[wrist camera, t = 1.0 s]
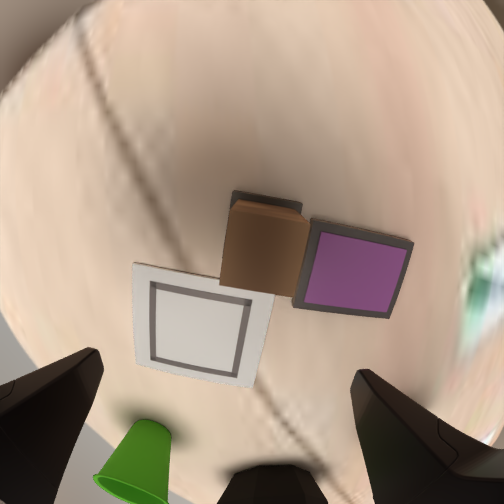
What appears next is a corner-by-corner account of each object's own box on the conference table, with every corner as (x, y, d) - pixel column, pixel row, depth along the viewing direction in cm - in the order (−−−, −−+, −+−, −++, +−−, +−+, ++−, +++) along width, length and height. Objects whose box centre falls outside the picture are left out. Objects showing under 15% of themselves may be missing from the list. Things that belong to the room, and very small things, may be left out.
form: (276, 288, 22) (276, 290, 21) (252, 386, 25) (252, 388, 24) (133, 262, 21) (131, 263, 21) (136, 362, 24) (135, 364, 24)
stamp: (300, 202, 20) (322, 216, 13) (287, 265, 21) (300, 306, 14) (233, 190, 20) (221, 197, 13) (223, 254, 21) (208, 292, 14)
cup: (122, 399, 26) (88, 466, 16) (192, 425, 27) (175, 500, 16) (121, 432, 29) (96, 489, 18) (180, 454, 29) (165, 515, 19)
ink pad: (408, 239, 20) (415, 243, 19) (384, 313, 22) (390, 319, 21) (311, 218, 20) (314, 220, 19) (291, 302, 22) (293, 308, 21)
